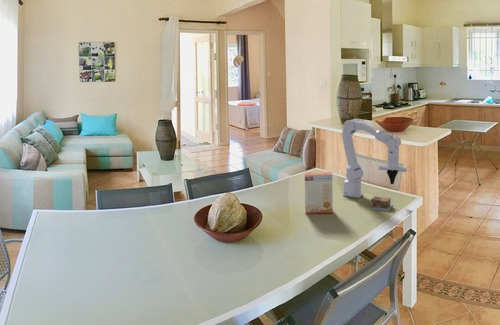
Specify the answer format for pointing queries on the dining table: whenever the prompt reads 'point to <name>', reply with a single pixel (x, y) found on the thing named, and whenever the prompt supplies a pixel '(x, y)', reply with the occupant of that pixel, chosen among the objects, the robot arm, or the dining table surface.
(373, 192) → the dining table surface
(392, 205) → the mat
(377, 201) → the brown wooden block
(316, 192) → the cracker box
